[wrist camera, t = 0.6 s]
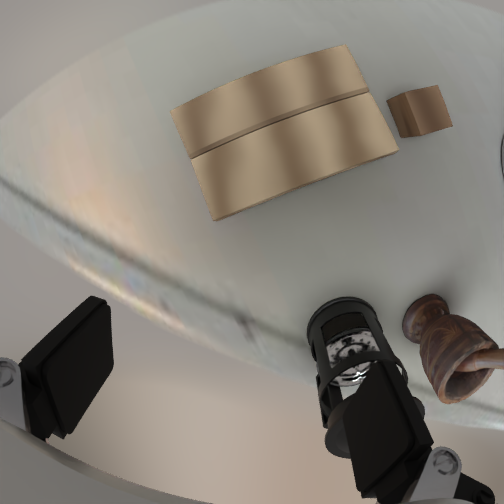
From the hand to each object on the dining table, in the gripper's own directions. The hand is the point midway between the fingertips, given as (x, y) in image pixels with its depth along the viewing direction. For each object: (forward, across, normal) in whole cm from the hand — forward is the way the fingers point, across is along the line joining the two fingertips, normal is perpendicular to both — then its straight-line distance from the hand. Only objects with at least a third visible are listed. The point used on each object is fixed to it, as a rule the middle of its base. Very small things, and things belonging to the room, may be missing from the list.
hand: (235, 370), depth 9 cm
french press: (+24, -13, +11) cm, 29 cm away
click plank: (+22, -2, -8) cm, 24 cm away
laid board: (+23, +2, -14) cm, 27 cm away
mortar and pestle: (+23, -25, +5) cm, 35 cm away
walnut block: (+23, -14, -17) cm, 32 cm away
